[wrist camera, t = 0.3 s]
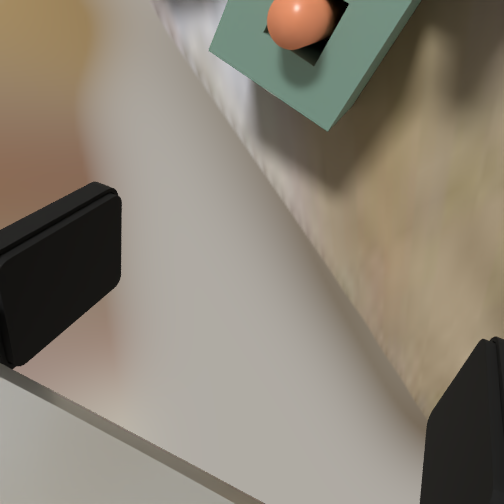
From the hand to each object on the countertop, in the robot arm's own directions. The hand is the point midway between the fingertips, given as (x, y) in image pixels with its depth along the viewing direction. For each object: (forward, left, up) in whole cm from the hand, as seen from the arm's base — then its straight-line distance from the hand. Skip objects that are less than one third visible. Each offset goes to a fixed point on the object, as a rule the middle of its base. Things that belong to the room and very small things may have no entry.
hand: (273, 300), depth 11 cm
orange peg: (-2, -8, -26) cm, 27 cm away
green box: (-2, -8, -29) cm, 30 cm away
